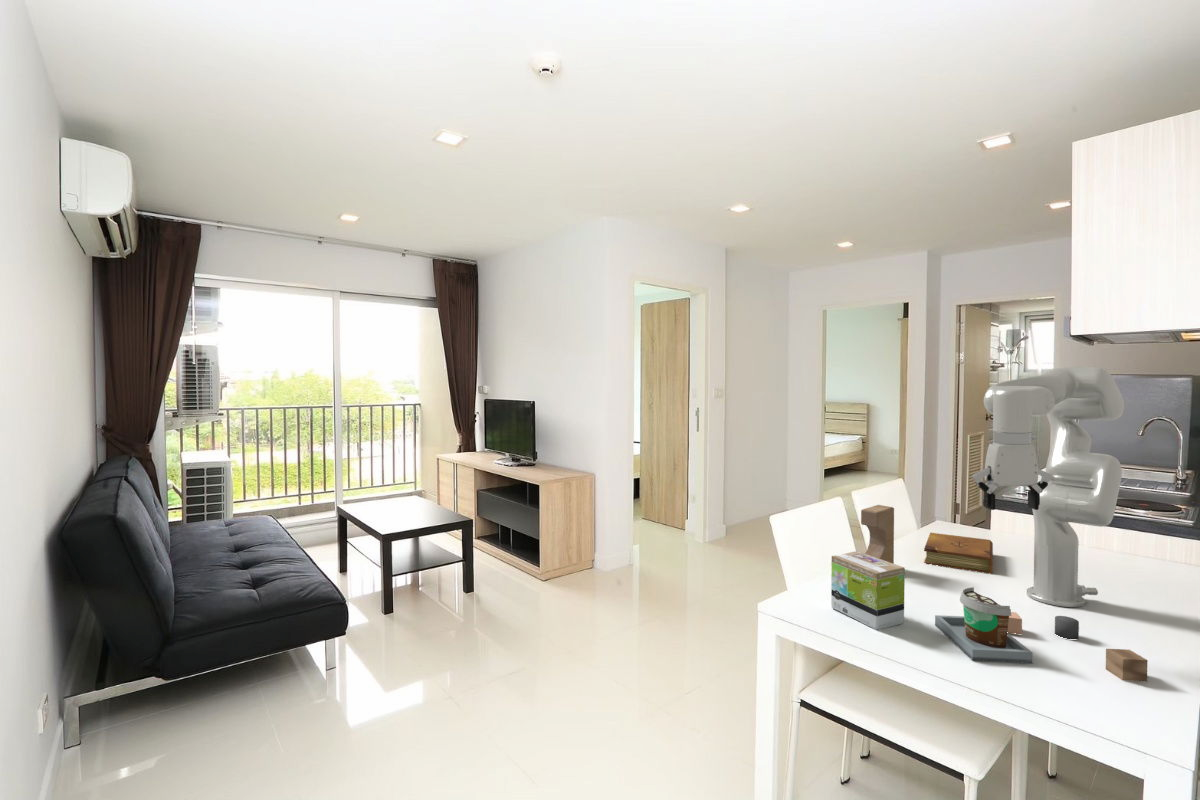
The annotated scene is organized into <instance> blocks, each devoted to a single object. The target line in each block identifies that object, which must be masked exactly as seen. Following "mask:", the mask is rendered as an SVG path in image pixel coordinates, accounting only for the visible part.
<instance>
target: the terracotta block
mask: <svg viewBox="0 0 1200 800" xmlns="http://www.w3.org/2000/svg"><path fill="white" fill-rule="evenodd" d="M1011 615H1012V616H1009V622H1008V634H1009V633H1016V634H1015V635H1017V634H1023V618H1022V617H1021V616H1020V614H1019V613H1017V612H1016V611H1015V612H1014V611H1011Z"/></svg>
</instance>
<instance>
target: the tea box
mask: <svg viewBox="0 0 1200 800" xmlns="http://www.w3.org/2000/svg"><path fill="white" fill-rule="evenodd" d="M830 567H831V579H830V581H831V584H830V585H831V587H830V589H831V595H830V597H831V600H830V601H831V608H832V609H833V610H836V611H838V612H841V613H842V614H844V615H846V616H848V617H850V618H853V619H854V620H856V621H858V622H860V623H862V624H864V625H865V626H868V627H869V628H871V629H873V630H875V631H879V630H884V629H887V628H891V627H894V626H898V625H902V624H904V622H905V583H906V582H905V578H906V577H905V570H906V568H905V567H903V566H901V565H899V564H898V565H897V564H896V563H894V564H893V563H890V562H887V561H884V560H882V559H879V558H876V557H873V556H870V555H868V554H865V552H862V551H859V550H857V551H856V550H855V551H851V552H846V553H841V554H836V555H831V565H830ZM890 626H891V627H890ZM886 627H887V628H886Z"/></svg>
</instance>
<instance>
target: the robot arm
mask: <svg viewBox="0 0 1200 800" xmlns="http://www.w3.org/2000/svg"><path fill="white" fill-rule="evenodd" d="M983 405H984V408H985V409H986V411H987V412H988V413H989V414H992V443H989V444H988V447H987V452H986V456H985V462H984V464H985V465H984V468H983V469H982V470H980V471H977V472H976V473H973V474H972V477H971V478H972V479H973V480H974V483H975V484H976V486H977V487H978V488H979V489H981V491H982V492H983V505H985V508H986V509H989V510H991V511H994V510H996V494H995V493H994V492H995V491H996V489H997V488H998V487H1027V488H1028V489H1029V490H1027V491H1028V492H1027V507H1028V508H1030V509H1031V510H1032V514H1033V524H1034V529H1033V530H1034V539H1033V540H1034V542H1033V543H1034V544H1033V545H1034V547H1033V548H1034V551H1033V552H1034V553H1033V586H1030V587H1028V588H1026V595H1028V597H1030V598H1031V599H1033V600H1035V601H1038V602H1040V603H1044V604H1046V605H1047V604H1048V605H1052V606H1057V607H1063V608H1067V607H1068V608H1080V607H1084V605H1085V604H1086V599H1085V598H1084V597H1085V596H1086V595H1089V596H1097V595H1098V594H1099V591H1098V589H1097V587H1086V586H1085V585H1084V584H1082V585H1081V584H1078V583H1079V582H1078V581H1079V580H1078V579H1079V545H1080V544H1079V543H1080V542H1079V537H1078V535H1077V533H1076V531H1075V530H1074V528H1073V526H1071V524H1070V523H1072V524H1073V523H1074V524H1080V525H1086V526H1092V527H1107V526H1109V525H1110V524H1111V523H1112V520H1113V519H1114V516H1115V512H1116V506H1117V502H1118V497H1119V491H1120V488H1121V482H1122V481H1121V480H1122V476H1123V475H1122V473H1123V472H1122V466H1121V463H1120V461H1119V459H1118V458H1117V457H1115V456H1113V455H1111V454H1106V453H1096V452H1090V451H1091V446H1092V438H1091V435H1090V434H1089V433H1088V432H1087V430H1086V429H1085V428H1084V427H1082V426H1081V425H1080V424H1079V422H1077V421H1078V420H1080V421H1101V422H1102V421H1103V422H1111V421H1116V420H1118V419H1119V418H1120V417H1122V415H1123V413H1124V411H1125V402H1124V398H1123V395H1122V393H1121V391H1120V389H1119V387H1118V385H1117V383H1116V381H1115V379H1114V377H1113V376H1112V375H1111V373H1110V372H1109V371H1108V370H1106V369H1104V368H1103V367H1099V366H1088V367H1087V366H1086V367H1085V366H1082V367H1080V366H1079V367H1078V366H1077V367H1075V366H1074V367H1073V366H1072V367H1071V366H1070V367H1056V368H1053V369H1050V370H1049V371H1046V372H1045V373H1041V374H1039V375H1034V376H1027V377H1022V378H1017V379H1011V380H1006V381H1001V382H997V383H996V384H993V385H991V386H990V387H989V388H988V389H987V390H986V392H985V394H984V397H983ZM1044 416H1046V417H1047V420H1048V422H1049V426H1050V428H1051V432H1052V440H1051V445H1050V450H1049V454H1048V458H1047V461H1046V466H1045V470H1042V469H1040V468H1039V465H1038V459H1037V457H1038V456H1037V453H1036V449H1035V445H1034V444H1032V443H1033V440H1036V439H1037V437H1038V436H1037V434H1036V433H1033V432H1032V417H1044ZM1076 420H1077V421H1076ZM1039 476H1040V477H1041V479H1040V480H1039ZM983 478H984V481H985V482H986V483H984V481H983ZM1038 480H1039V481H1038ZM1050 482H1053V483H1054V484H1049V483H1050Z"/></svg>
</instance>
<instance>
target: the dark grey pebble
mask: <svg viewBox="0 0 1200 800" xmlns="http://www.w3.org/2000/svg"><path fill="white" fill-rule="evenodd" d="M1079 625H1080V621H1079V620H1077V619H1076V618H1073V617H1070V616H1067V615H1055V616H1054V635H1055V634H1056V635H1058V636H1060V637H1063V638H1067V639H1078V638H1079V636H1080V635H1079V634H1080V633H1079V632H1080V626H1079ZM1056 635H1055V636H1056ZM1058 636H1057V637H1058ZM1060 637H1059V638H1060ZM1063 638H1062V639H1063ZM1067 639H1066V640H1067ZM1078 640H1079V639H1078Z"/></svg>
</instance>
